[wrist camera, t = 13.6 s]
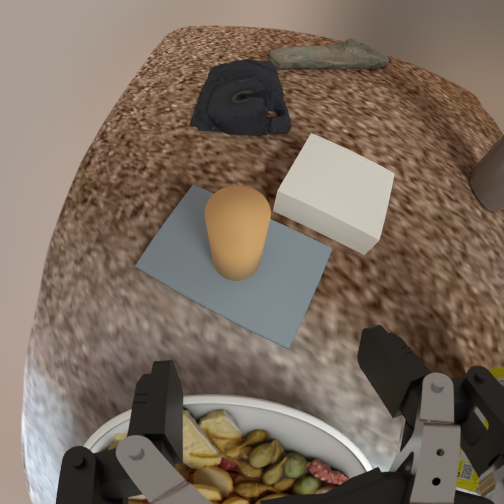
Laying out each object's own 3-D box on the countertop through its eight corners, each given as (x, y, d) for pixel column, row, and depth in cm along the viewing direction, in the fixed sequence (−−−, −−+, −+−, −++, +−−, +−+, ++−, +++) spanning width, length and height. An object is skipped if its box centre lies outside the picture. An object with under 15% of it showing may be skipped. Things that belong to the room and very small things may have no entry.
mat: (193, 187, 33) (193, 184, 33) (330, 250, 31) (332, 248, 30) (136, 267, 29) (134, 265, 28) (287, 348, 26) (288, 348, 26)
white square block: (305, 153, 37) (311, 133, 33) (382, 191, 35) (394, 173, 32) (272, 210, 33) (277, 190, 29) (364, 255, 31) (379, 240, 27)
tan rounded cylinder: (226, 229, 31) (225, 176, 22) (268, 249, 30) (281, 200, 22) (203, 267, 29) (192, 223, 20) (247, 289, 28) (252, 252, 20)
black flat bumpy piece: (284, 73, 48) (287, 54, 43) (290, 143, 38) (295, 118, 34) (208, 68, 47) (208, 49, 43) (186, 137, 38) (182, 112, 34)
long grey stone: (257, 61, 51) (278, 83, 48) (258, 42, 46) (281, 62, 43) (371, 52, 57) (394, 72, 54) (376, 38, 52) (401, 57, 49)
